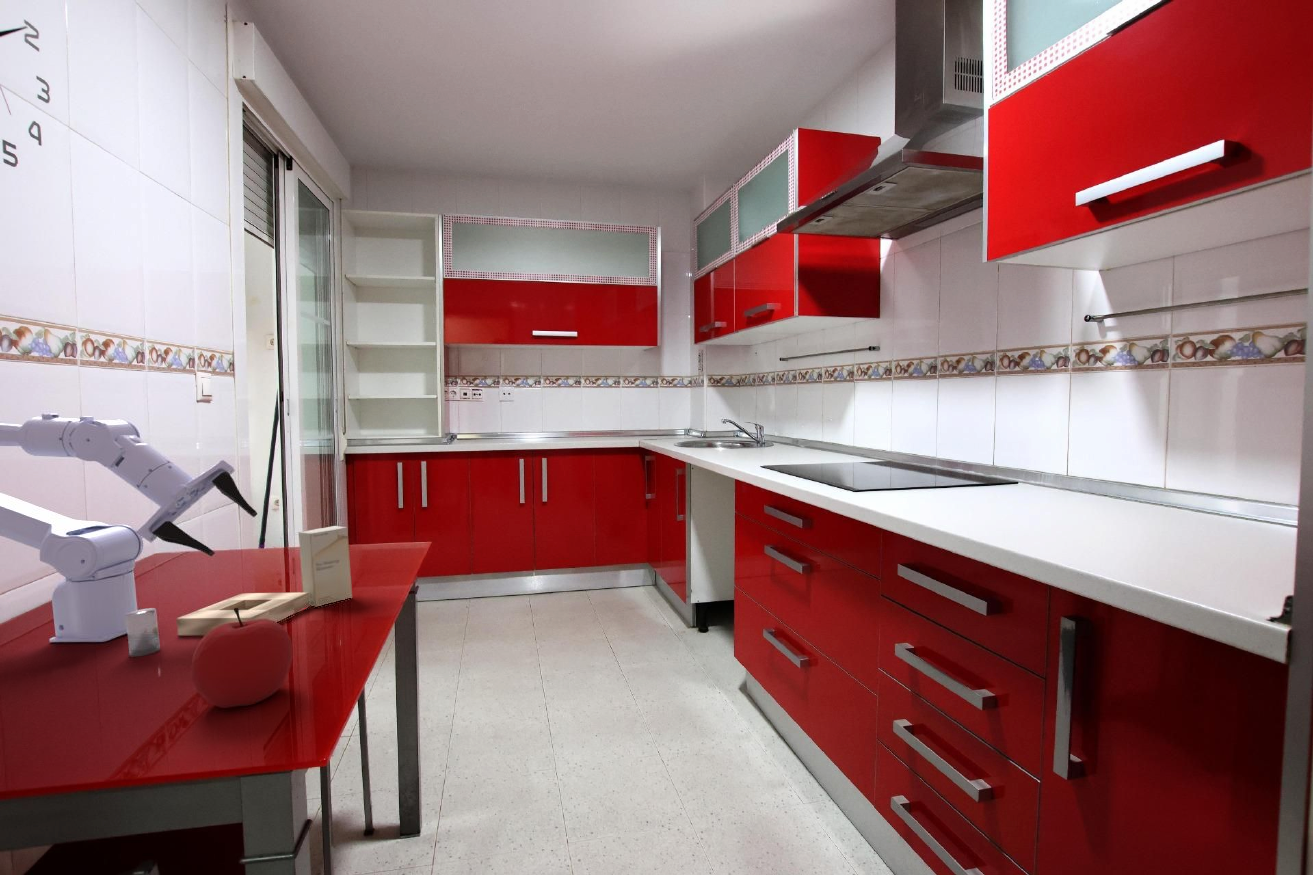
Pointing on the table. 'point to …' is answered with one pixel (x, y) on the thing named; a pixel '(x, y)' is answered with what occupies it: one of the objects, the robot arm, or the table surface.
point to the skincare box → (325, 564)
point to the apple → (241, 662)
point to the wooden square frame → (242, 611)
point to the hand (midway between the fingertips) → (233, 533)
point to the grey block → (142, 632)
